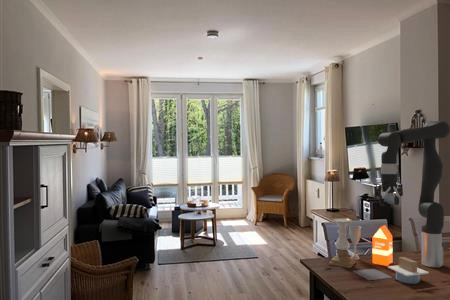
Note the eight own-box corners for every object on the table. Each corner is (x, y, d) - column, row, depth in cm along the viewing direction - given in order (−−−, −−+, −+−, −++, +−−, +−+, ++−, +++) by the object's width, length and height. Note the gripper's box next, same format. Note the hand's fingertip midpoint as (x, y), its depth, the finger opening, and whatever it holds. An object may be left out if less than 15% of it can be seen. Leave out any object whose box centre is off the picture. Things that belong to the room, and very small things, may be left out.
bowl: (408, 276, 175) (408, 266, 175) (424, 283, 166) (424, 272, 166) (391, 278, 172) (391, 268, 172) (406, 286, 163) (406, 275, 163)
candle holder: (350, 269, 185) (350, 222, 185) (328, 266, 191) (328, 220, 191) (355, 263, 194) (355, 219, 194) (335, 260, 200) (335, 217, 200)
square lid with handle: (408, 265, 176) (408, 254, 176) (428, 273, 165) (428, 262, 165) (387, 267, 173) (387, 256, 173) (406, 276, 161) (406, 264, 161)
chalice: (360, 262, 197) (360, 228, 197) (347, 260, 200) (347, 227, 200) (362, 258, 203) (362, 226, 203) (350, 256, 207) (350, 224, 206)
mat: (374, 269, 185) (374, 268, 185) (392, 278, 172) (392, 277, 172) (351, 272, 181) (351, 271, 181) (369, 282, 168) (368, 280, 168)
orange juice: (372, 264, 193) (372, 226, 193) (377, 260, 200) (377, 223, 199) (387, 267, 188) (387, 228, 188) (392, 263, 194) (392, 225, 194)
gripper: (395, 171, 187) (395, 203, 187) (371, 172, 183) (372, 204, 183) (406, 172, 179) (406, 205, 180) (382, 173, 175) (382, 207, 176)
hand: (389, 205), depth 181 cm, fingers open, 8 cm apart
